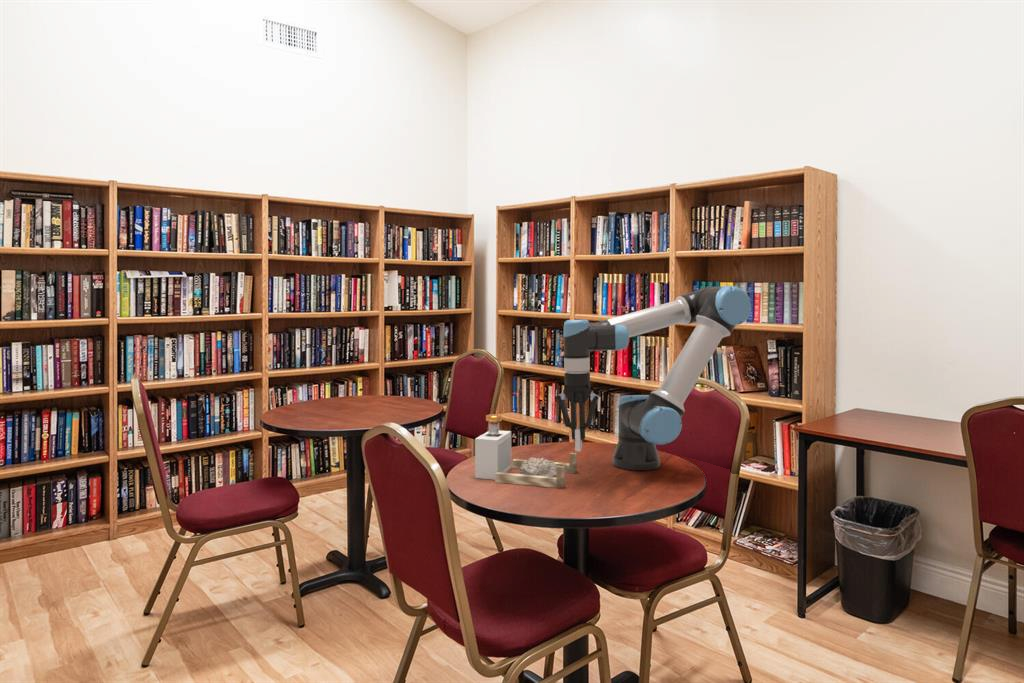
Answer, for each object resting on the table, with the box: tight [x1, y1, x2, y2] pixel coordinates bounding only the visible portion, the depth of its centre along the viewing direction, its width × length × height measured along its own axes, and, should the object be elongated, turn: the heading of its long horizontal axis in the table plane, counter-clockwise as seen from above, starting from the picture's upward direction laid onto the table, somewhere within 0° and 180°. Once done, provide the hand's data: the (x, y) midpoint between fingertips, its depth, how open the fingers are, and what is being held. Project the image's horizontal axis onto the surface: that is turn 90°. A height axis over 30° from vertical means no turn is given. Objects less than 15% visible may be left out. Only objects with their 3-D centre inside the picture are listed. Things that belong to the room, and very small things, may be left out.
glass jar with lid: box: [485, 413, 503, 437], centre depth 204 cm, size 5×5×8 cm
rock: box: [518, 457, 557, 477], centre depth 200 cm, size 11×11×6 cm
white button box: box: [474, 429, 512, 481], centre depth 205 cm, size 7×14×12 cm, turn 163°
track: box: [494, 452, 578, 489], centre depth 201 cm, size 20×19×6 cm
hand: (578, 450), depth 197 cm, fingers closed
